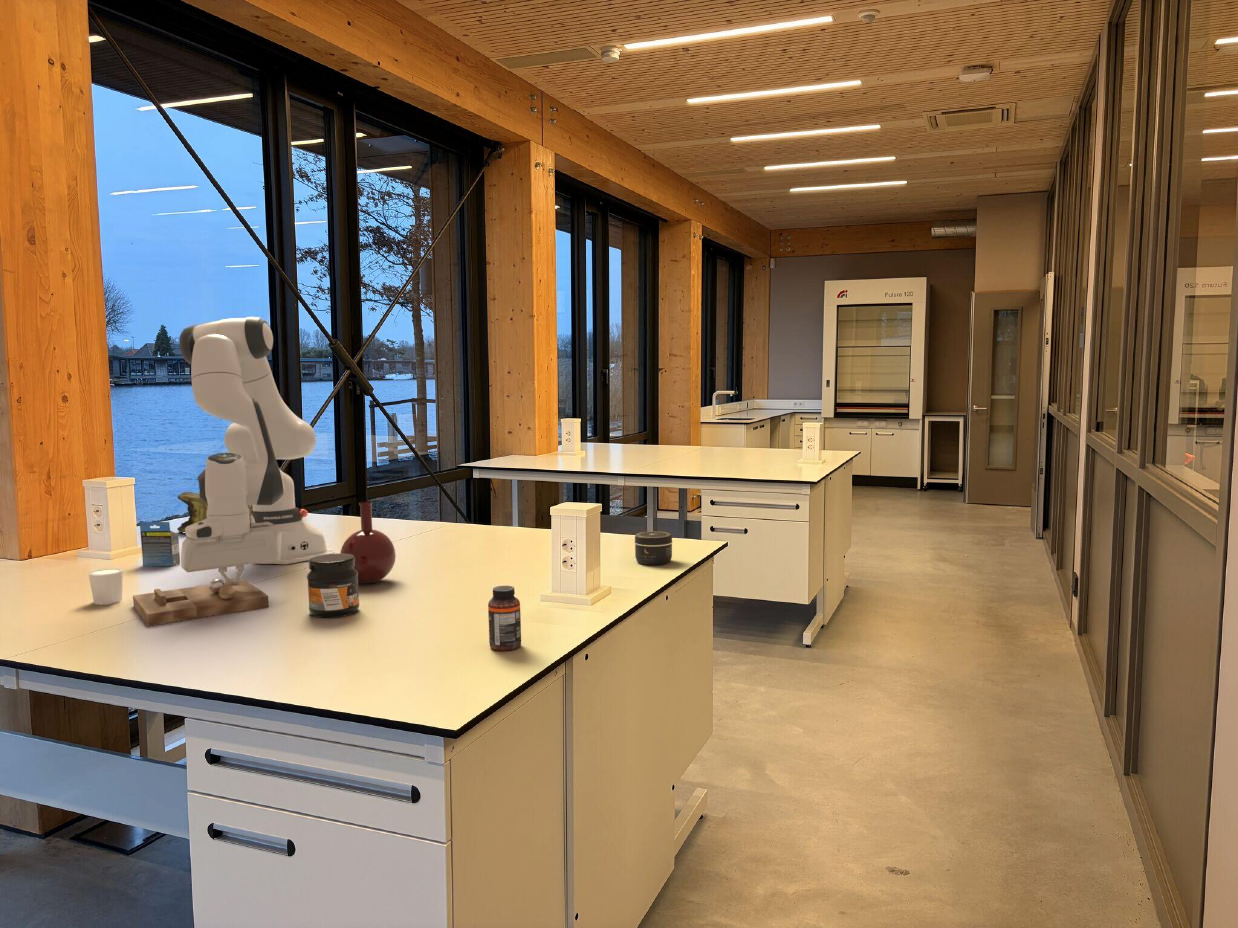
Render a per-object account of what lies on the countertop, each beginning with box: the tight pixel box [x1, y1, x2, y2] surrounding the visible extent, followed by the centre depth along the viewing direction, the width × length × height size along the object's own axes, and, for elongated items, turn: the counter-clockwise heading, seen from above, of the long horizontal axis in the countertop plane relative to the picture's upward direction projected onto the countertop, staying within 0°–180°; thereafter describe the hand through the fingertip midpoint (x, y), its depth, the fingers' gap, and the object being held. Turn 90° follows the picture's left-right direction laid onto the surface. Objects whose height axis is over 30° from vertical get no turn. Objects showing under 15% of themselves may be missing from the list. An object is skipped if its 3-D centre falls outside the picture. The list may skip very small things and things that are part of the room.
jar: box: [634, 530, 673, 567], centre depth 238 cm, size 10×10×8 cm
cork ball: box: [219, 585, 235, 600], centre depth 196 cm, size 3×3×3 cm
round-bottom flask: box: [339, 500, 397, 584], centre depth 220 cm, size 13×13×20 cm
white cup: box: [88, 568, 124, 606], centre depth 206 cm, size 7×7×7 cm
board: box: [132, 579, 270, 627], centre depth 200 cm, size 24×20×4 cm
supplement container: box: [306, 553, 360, 619], centre depth 193 cm, size 10×10×12 cm
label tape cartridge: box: [139, 521, 181, 567], centre depth 244 cm, size 9×4×12 cm, turn 84°
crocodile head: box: [177, 491, 253, 533], centre depth 294 cm, size 27×17×15 cm
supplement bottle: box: [487, 585, 522, 652], centre depth 167 cm, size 6×6×11 cm
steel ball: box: [208, 578, 225, 593], centre depth 202 cm, size 3×3×3 cm
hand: (232, 585), depth 203 cm, fingers closed
